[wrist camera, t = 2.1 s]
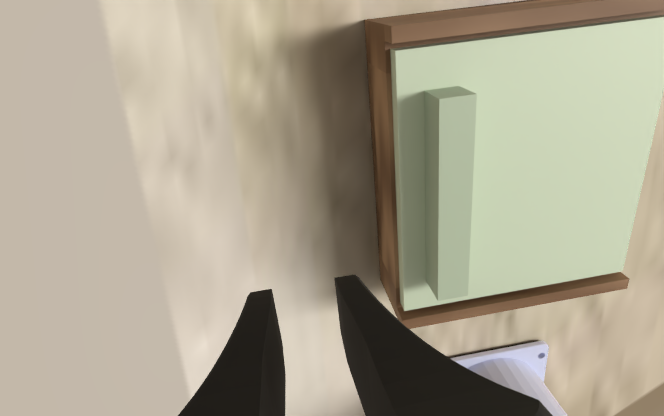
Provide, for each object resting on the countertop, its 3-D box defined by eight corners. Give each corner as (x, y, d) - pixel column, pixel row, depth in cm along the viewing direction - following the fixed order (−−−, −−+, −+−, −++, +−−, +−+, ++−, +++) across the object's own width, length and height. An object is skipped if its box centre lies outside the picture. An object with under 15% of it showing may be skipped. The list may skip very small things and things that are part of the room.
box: (573, 245, 27) (627, 288, 23) (380, 279, 26) (402, 330, 22) (615, -10, 21) (698, -12, 17) (364, 19, 20) (391, 25, 16)
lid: (612, 264, 24) (646, 289, 22) (400, 302, 23) (414, 333, 20) (666, 14, 18) (718, 16, 16) (390, 48, 17) (408, 56, 15)
